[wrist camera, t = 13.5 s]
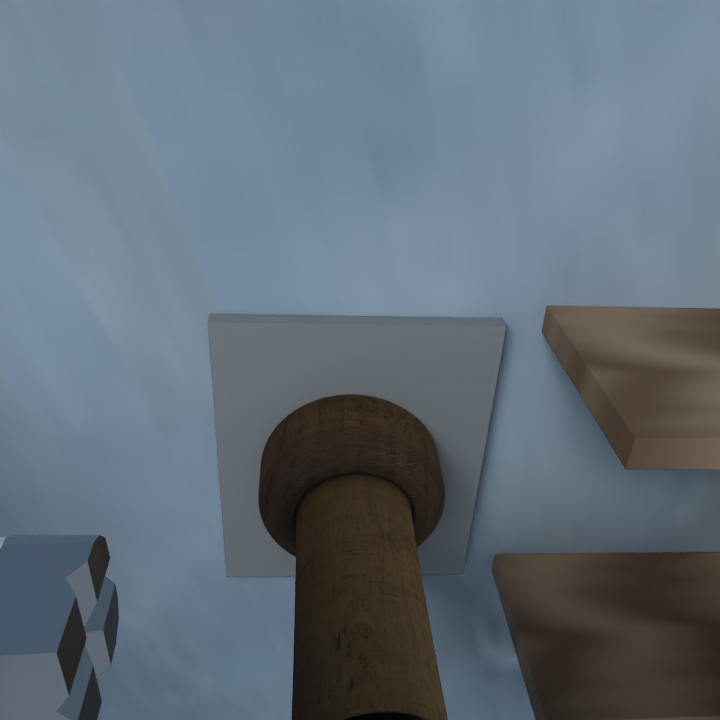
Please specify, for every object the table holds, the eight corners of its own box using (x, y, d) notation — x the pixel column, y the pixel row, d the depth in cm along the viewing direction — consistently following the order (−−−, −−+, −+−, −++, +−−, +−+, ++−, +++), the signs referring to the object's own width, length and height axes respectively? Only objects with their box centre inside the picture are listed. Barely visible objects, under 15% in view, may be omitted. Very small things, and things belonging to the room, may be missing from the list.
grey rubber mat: (228, 566, 29) (226, 577, 28) (209, 314, 23) (207, 322, 22) (459, 563, 30) (462, 574, 29) (502, 318, 24) (506, 326, 23)
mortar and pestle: (442, 389, 24) (669, 1147, 9) (431, 524, 28) (583, 1245, 12) (255, 395, 24) (151, 1194, 9) (266, 530, 27) (207, 1282, 12)
